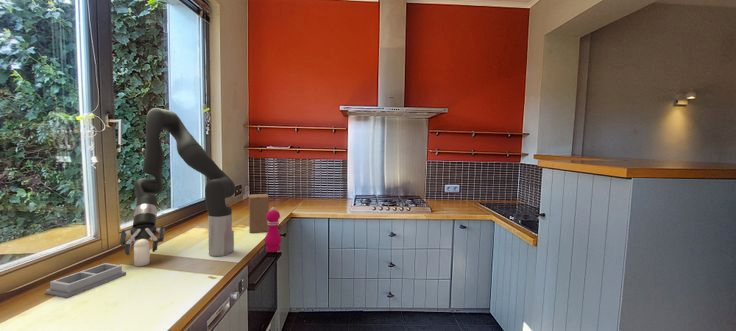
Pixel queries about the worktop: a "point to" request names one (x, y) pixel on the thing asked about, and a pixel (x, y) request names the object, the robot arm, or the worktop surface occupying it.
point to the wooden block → (258, 213)
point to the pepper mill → (273, 231)
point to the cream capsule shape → (141, 252)
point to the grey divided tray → (84, 280)
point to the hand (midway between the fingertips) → (141, 252)
